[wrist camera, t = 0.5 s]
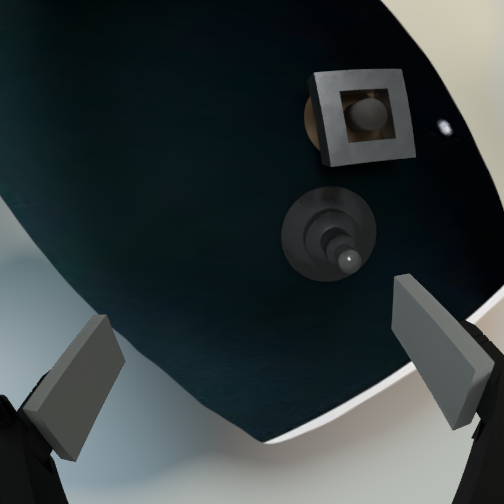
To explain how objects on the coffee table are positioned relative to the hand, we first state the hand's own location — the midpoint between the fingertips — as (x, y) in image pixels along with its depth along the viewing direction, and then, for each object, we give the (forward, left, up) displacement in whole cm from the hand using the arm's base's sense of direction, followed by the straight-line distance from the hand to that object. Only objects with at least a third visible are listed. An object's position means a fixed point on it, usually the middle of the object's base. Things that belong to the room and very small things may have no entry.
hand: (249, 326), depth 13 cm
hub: (+5, +9, -25) cm, 27 cm away
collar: (-9, +13, -21) cm, 26 cm away
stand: (-9, +13, -25) cm, 30 cm away
